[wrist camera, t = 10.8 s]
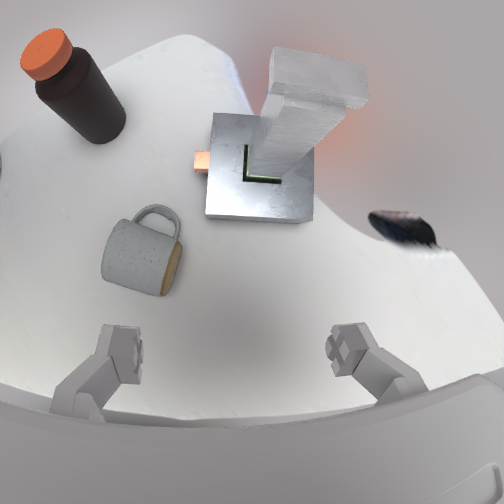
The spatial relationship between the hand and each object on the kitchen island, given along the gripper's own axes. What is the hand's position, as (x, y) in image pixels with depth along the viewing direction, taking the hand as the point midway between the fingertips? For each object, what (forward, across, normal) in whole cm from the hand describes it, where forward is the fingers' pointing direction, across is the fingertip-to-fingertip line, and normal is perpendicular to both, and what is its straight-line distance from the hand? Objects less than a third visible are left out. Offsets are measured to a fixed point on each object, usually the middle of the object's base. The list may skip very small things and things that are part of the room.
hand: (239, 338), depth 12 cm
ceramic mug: (+26, +7, +12) cm, 29 cm away
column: (+26, -6, 0) cm, 26 cm away
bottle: (+35, +16, -3) cm, 39 cm away
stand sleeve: (+30, -6, +3) cm, 30 cm away
